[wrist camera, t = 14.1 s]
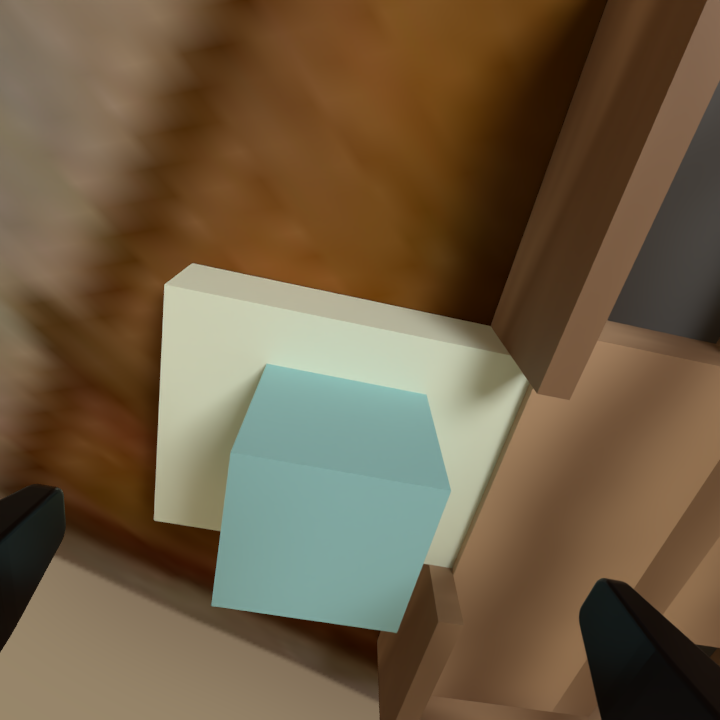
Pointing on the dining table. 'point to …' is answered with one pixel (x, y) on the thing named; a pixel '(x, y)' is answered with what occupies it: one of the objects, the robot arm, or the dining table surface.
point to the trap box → (594, 395)
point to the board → (328, 357)
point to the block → (329, 501)
